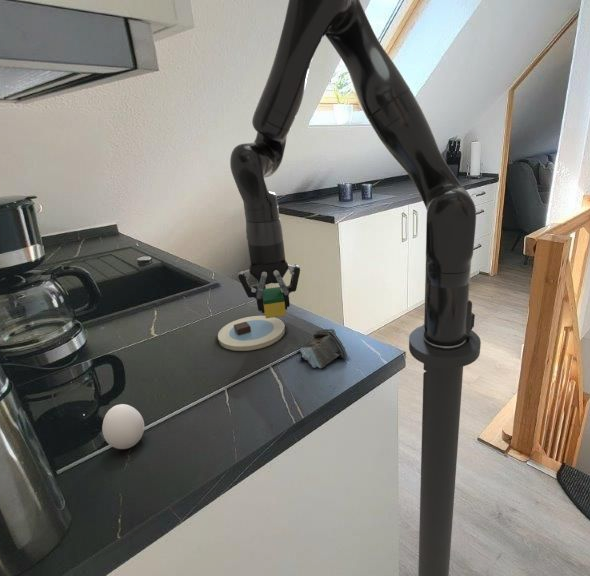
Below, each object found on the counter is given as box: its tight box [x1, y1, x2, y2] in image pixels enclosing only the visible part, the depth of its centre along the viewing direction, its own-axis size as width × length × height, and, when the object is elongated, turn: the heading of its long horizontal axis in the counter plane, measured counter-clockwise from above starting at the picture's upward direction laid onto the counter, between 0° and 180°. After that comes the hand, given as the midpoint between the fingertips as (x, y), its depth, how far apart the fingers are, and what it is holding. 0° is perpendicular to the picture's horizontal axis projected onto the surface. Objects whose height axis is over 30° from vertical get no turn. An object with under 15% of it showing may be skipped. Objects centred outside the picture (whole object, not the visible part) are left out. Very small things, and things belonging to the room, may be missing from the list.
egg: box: [101, 403, 145, 450], centre depth 61 cm, size 5×5×7 cm
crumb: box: [234, 322, 251, 335], centre depth 94 cm, size 3×3×2 cm
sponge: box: [262, 286, 287, 319], centre depth 94 cm, size 7×4×4 cm, turn 20°
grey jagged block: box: [299, 328, 348, 369], centre depth 84 cm, size 10×7×12 cm
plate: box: [217, 315, 286, 352], centre depth 95 cm, size 15×15×1 cm
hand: (274, 309), depth 95 cm, fingers closed on sponge, 4 cm apart
